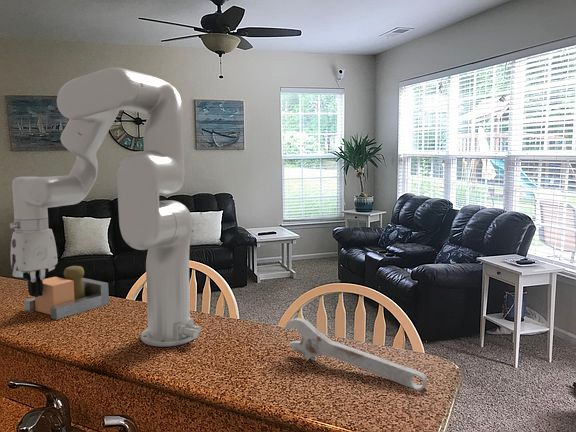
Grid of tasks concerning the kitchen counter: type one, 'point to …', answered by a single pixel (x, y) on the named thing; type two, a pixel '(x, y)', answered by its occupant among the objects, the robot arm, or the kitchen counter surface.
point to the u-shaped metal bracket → (94, 298)
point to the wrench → (349, 355)
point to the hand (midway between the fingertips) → (36, 295)
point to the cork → (76, 280)
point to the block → (54, 294)
